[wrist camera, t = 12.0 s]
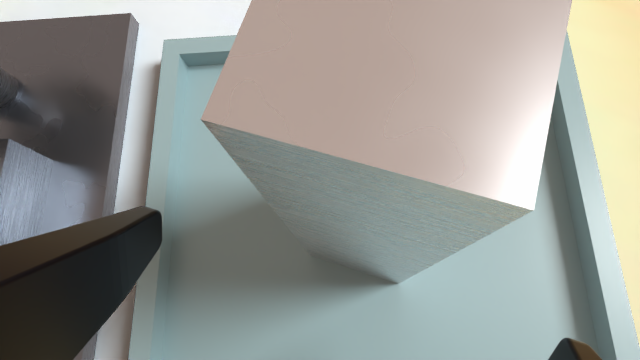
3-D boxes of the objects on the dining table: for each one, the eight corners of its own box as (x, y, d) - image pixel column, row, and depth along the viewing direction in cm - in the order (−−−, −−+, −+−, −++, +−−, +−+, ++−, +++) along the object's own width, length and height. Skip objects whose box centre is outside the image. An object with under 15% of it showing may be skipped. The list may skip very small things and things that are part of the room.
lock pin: (399, 283, 16) (532, 209, 4) (310, 255, 17) (200, 119, 5) (421, 196, 17) (584, -70, 5) (336, 173, 17) (302, -117, 6)
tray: (642, 482, 14) (674, 502, 13) (135, 477, 15) (113, 495, 14) (547, 36, 19) (563, 14, 18) (177, 58, 20) (163, 39, 19)
